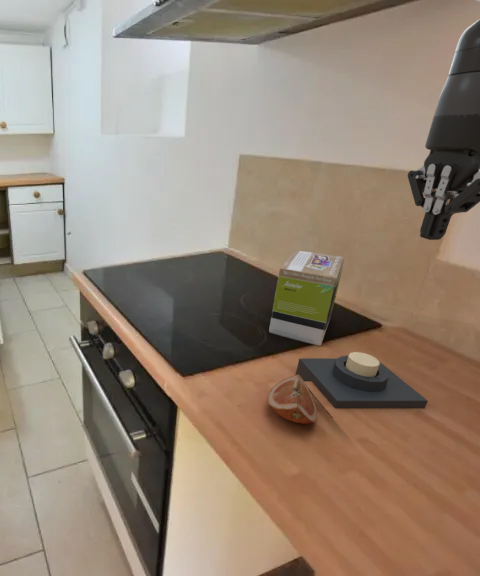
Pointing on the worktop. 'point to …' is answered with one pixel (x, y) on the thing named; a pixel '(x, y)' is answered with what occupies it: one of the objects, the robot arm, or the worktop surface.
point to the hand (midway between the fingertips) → (430, 238)
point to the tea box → (305, 296)
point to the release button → (362, 364)
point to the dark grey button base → (357, 385)
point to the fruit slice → (293, 400)
